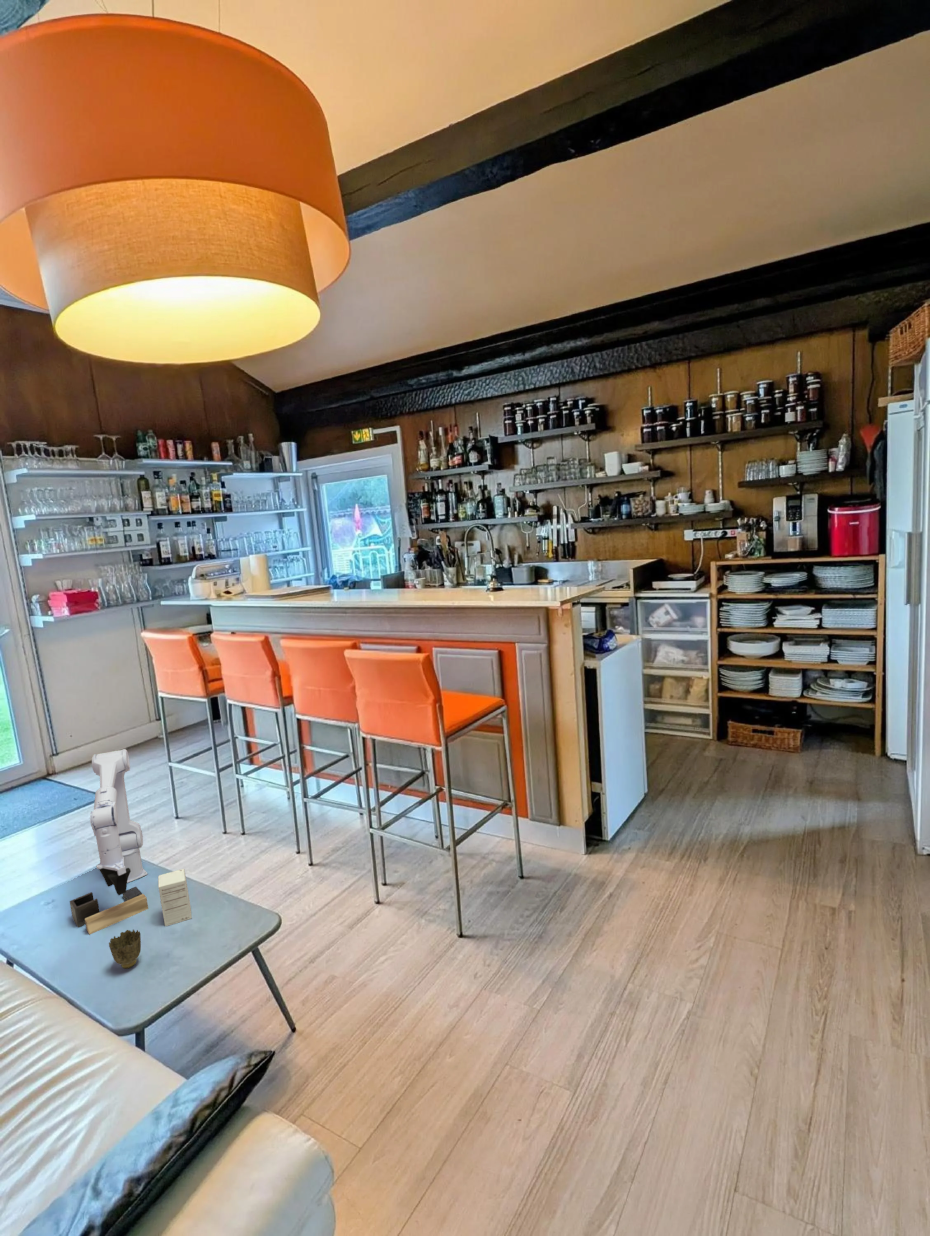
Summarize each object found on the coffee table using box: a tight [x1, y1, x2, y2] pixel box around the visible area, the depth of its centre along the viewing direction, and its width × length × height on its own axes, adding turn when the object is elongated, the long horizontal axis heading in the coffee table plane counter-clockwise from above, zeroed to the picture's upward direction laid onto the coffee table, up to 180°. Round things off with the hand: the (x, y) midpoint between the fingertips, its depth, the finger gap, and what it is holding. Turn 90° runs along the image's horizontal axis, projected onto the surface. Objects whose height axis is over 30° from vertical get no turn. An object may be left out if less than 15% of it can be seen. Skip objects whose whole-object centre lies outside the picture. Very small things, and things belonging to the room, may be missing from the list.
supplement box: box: [157, 868, 192, 927], centre depth 189 cm, size 7×7×13 cm
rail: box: [85, 893, 149, 936], centre depth 191 cm, size 3×16×4 cm, turn 133°
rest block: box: [122, 886, 143, 902], centre depth 201 cm, size 6×4×2 cm, turn 44°
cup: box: [108, 929, 142, 970], centre depth 169 cm, size 8×7×8 cm
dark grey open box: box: [69, 891, 101, 928], centre depth 192 cm, size 6×6×6 cm
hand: (116, 889), depth 190 cm, fingers open, 7 cm apart
